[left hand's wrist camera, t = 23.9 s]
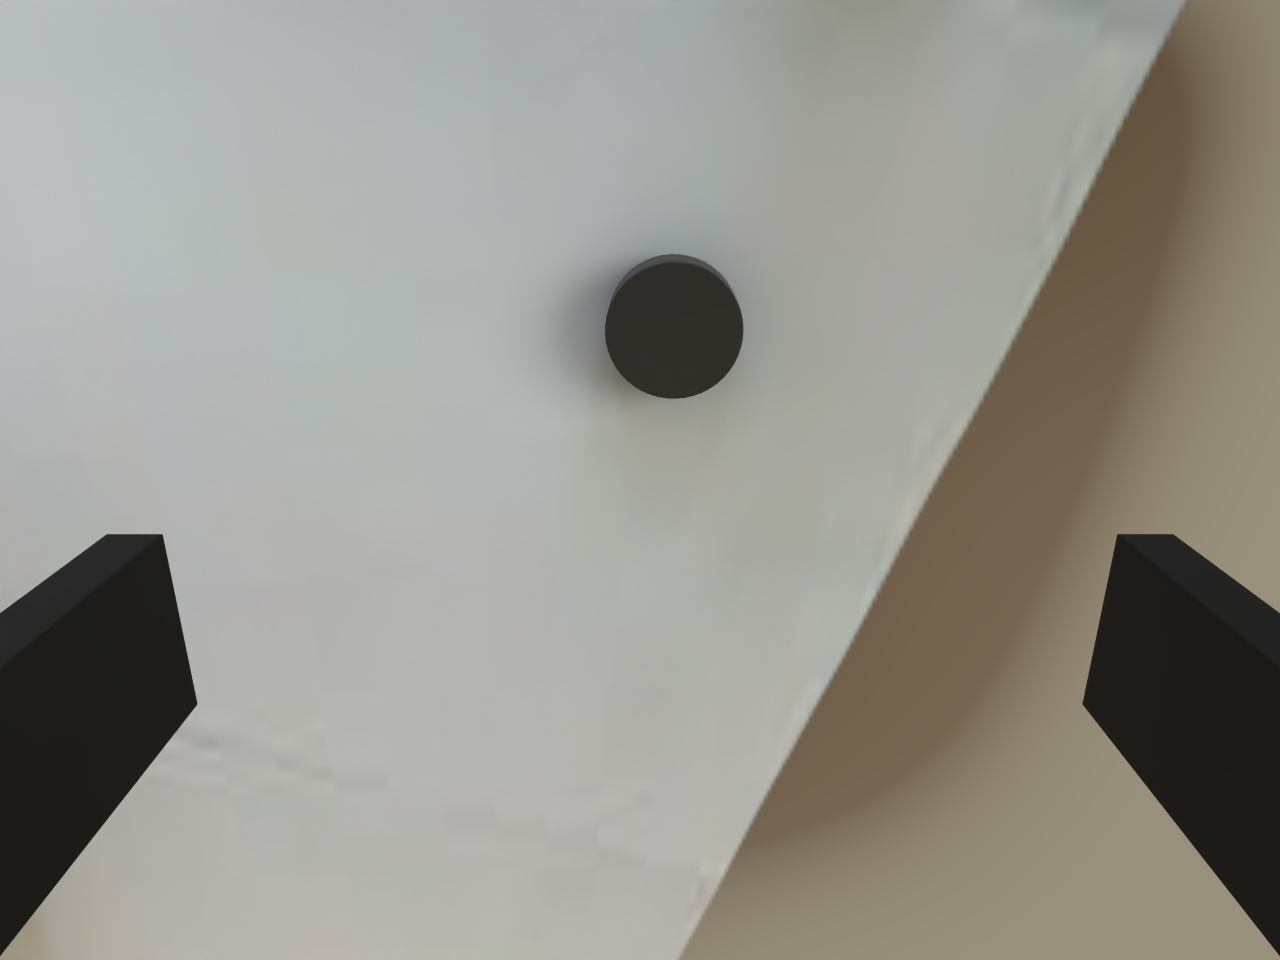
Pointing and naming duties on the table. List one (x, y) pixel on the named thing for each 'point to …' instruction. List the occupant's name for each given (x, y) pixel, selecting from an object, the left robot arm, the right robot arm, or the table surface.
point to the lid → (674, 327)
